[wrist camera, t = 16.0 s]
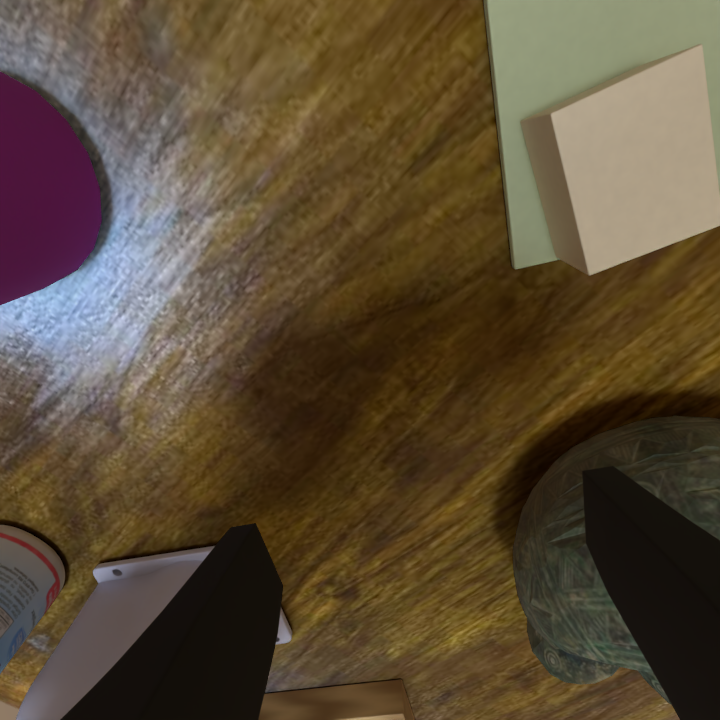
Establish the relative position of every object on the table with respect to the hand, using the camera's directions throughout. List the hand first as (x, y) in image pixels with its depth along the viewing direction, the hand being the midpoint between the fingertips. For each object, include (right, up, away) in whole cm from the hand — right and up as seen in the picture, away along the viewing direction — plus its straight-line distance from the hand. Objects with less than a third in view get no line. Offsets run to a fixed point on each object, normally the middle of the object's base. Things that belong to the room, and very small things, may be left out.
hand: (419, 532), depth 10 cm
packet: (+7, +11, +6) cm, 14 cm away
